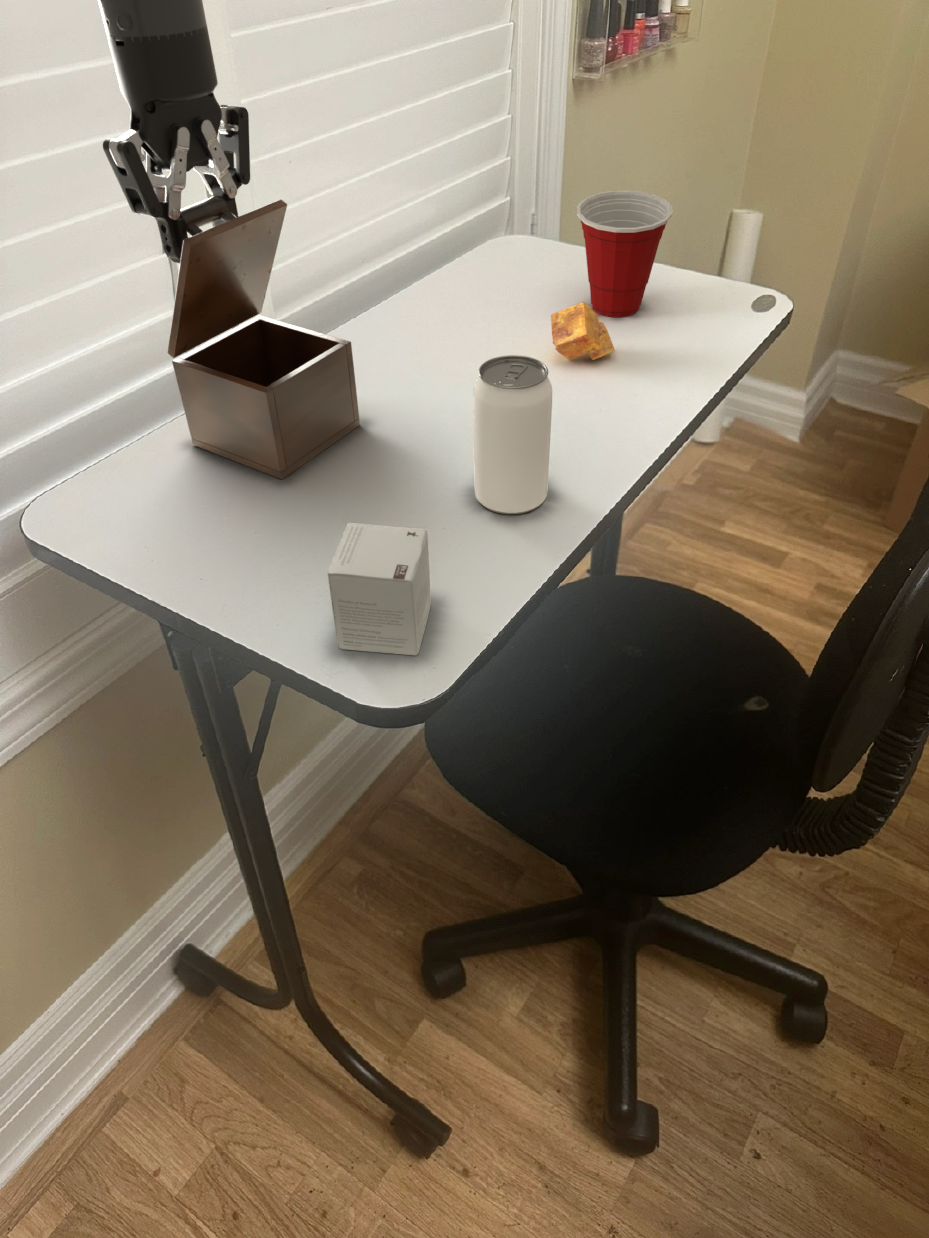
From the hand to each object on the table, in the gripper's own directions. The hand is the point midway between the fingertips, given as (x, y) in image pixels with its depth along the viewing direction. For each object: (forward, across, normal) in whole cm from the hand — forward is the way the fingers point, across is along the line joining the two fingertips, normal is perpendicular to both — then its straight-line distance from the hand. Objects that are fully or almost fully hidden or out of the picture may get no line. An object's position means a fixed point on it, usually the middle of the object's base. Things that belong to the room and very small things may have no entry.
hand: (205, 251), depth 80 cm
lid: (+2, 0, +2) cm, 3 cm away
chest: (+17, 0, +4) cm, 18 cm away
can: (+18, -4, +29) cm, 35 cm away
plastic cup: (+17, -44, +19) cm, 51 cm away
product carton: (+18, +16, +31) cm, 39 cm away
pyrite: (+18, -30, +22) cm, 41 cm away
